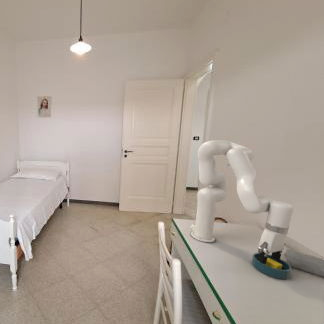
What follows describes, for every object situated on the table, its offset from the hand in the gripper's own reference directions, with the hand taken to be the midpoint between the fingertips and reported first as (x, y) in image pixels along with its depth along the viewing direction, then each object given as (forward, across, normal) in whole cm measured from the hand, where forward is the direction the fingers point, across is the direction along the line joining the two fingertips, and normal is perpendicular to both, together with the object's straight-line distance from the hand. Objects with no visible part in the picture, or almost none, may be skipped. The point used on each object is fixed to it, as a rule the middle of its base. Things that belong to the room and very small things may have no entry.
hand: (268, 260), depth 98 cm
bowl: (+4, 0, +1) cm, 4 cm away
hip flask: (+2, -19, -2) cm, 19 cm away
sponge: (+4, 0, +1) cm, 4 cm away
